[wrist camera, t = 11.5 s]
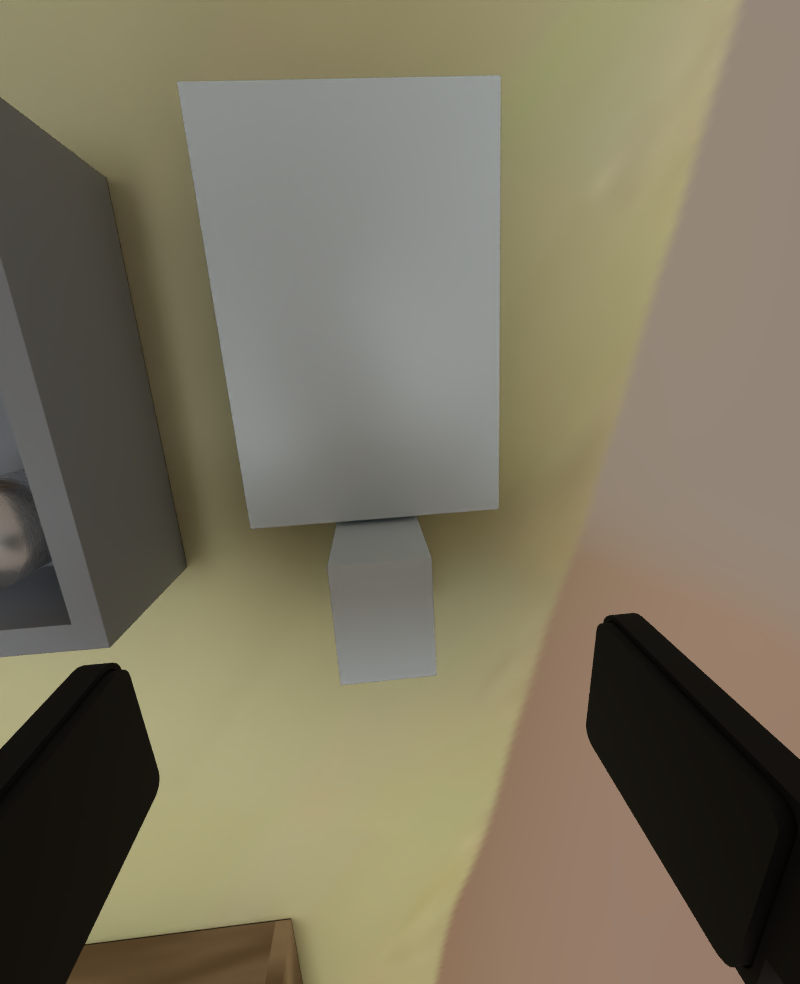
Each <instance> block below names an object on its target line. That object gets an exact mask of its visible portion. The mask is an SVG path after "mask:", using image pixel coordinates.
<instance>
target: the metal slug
mask: <svg viewBox="0 0 800 984" xmlns="http://www.w3.org/2000/svg"><path fill="white" fill-rule="evenodd" d="M51 561H52V558H51V555H50V552H49V548H48V545H47V542H46V539H45V535H44V532H43V529H42V525H41V522H40V519H39V515H38V512H37V509H36V506H35V502H34V499H33V496H32V492H31V489H30V486H29V483H28V479H27V476H26V473H25V469H20V470H17V471H13V472H9V473H5V474H1V475H0V591H1V590H3V589H5V588H7V587H8V586H10V585H12V584H13V583H15V582H17V581H19V580H20V579H22V578H24V577H26V576H27V575H29V574H31V573H32V572H34V571H36V570H38V569H39V568H41V567H43V566H44V565H46V564H48V563H50V562H51Z"/></svg>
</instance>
